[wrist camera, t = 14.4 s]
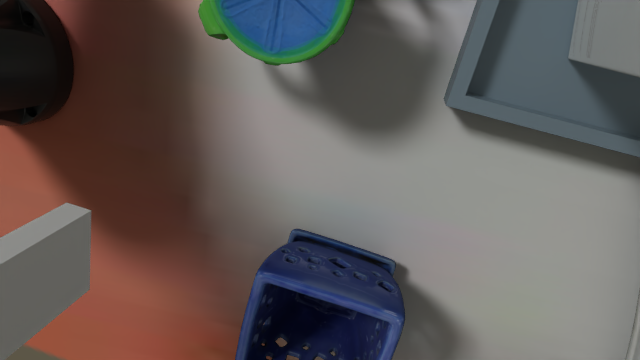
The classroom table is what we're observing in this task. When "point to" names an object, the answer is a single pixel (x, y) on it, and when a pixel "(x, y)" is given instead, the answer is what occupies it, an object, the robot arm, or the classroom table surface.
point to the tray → (542, 76)
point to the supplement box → (607, 35)
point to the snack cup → (277, 26)
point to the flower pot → (322, 303)
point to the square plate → (635, 337)
